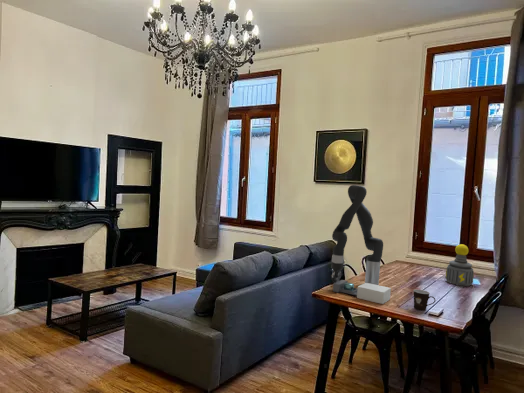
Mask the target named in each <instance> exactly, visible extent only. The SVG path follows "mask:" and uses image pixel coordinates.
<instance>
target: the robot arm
mask: <svg viewBox="0 0 524 393" xmlns="http://www.w3.org/2000/svg"><path fill="white" fill-rule="evenodd" d="M347 195H348V198H349V200H350V202H351V205H350V206H349V207H348V208H347V209H346V210H345V211H344V212H343V214H342V216H341V218H340V220H339V223H338V224H337V226H336V227H335V228H334V230H333V232H332V235H331V236H332V240H333V241H335V242H336V245H334V246H333V248H332V256H331V267H330V268H331V269H332V274H330V279H331V281H332V283H336V282H338V281H340V280H341V277H342V276H343V272H342V270H343V269H344V259H345V257H344V253H345V247H346V245H347V243H348V242H347V241H348V235H347V233H346V232H345V231H346V230H349V228H350V227H351V225H352V222H353V220H354V217H355V216H356V217H357V221H358V224H359V226H360V228H361V232H362V236H363V240H364V244H365V247H366V249H367V250H369V251H372V254H369V255H367V256H366V266H365V276H364V277H365V279H364V283H370V284H375V285H379V284H380V283H379V281H380V271H381V260H382V257H383V252H384V251H383V250H384V241H383V239H382V238H377V237H374V236H373V234H372V228H373V226H374V218H373V216H372V213H371V211H370V210H369V209H368V207H366V205H365V204H364V203H363V202H364V200H365V198H366V196H367V188H366V187H365V186H362V185H356V184H352V185H350V186H348V188H347ZM379 286H380V285H379Z"/></svg>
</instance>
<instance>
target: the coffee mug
mask: <svg viewBox="0 0 524 393" xmlns="http://www.w3.org/2000/svg"><path fill="white" fill-rule="evenodd" d="M430 298H432V299H433V300H434V301H433V302H432V303H429V299H430ZM428 303H429V304H428ZM435 303H436V298H435V297H434V296H433V295H432V296H430V292H429V291H427V290H425V289H424V290H423V289H413V308H414V309H415V310H417V311H422V312H423V311H426V310H427V307H428V306H430V305H433V304H435Z"/></svg>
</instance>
